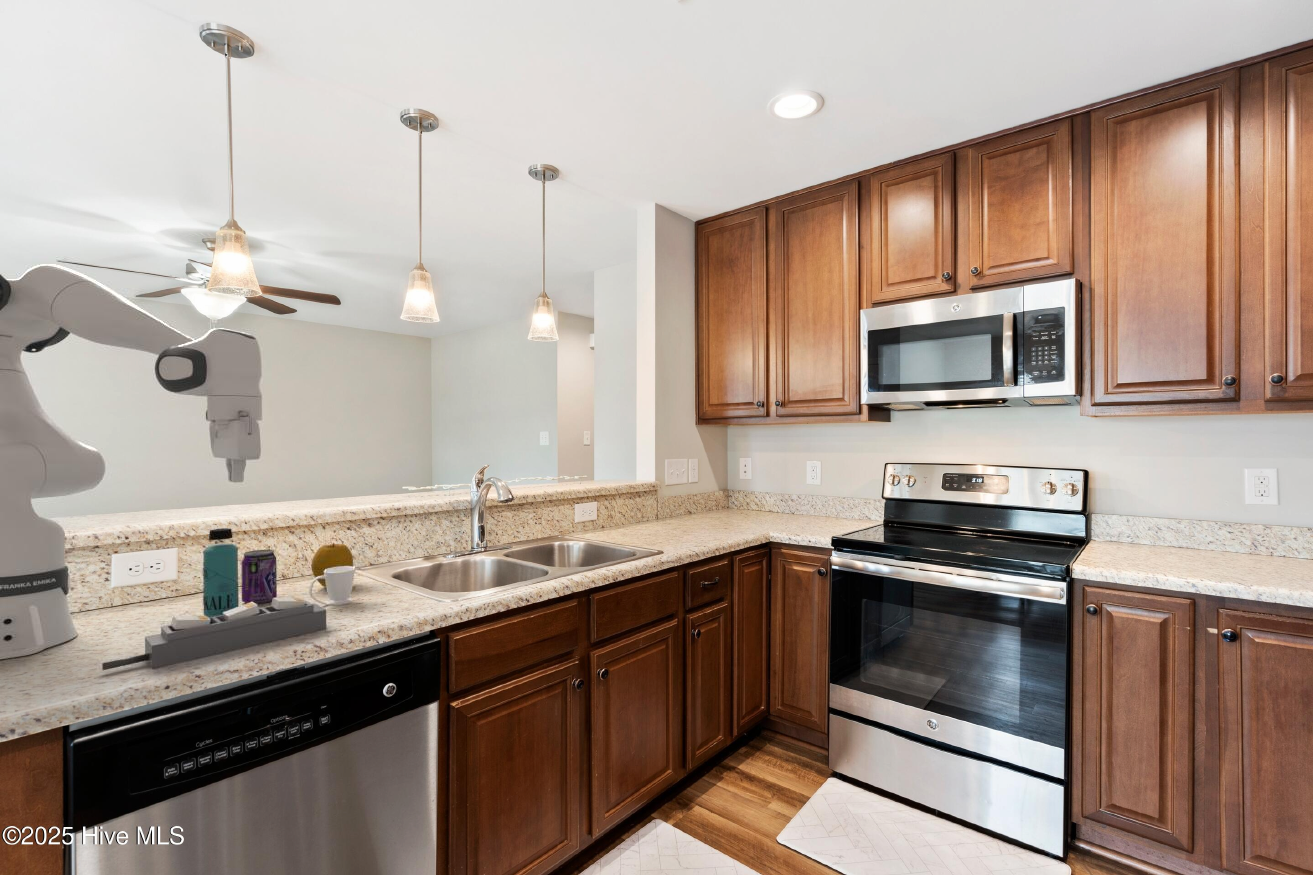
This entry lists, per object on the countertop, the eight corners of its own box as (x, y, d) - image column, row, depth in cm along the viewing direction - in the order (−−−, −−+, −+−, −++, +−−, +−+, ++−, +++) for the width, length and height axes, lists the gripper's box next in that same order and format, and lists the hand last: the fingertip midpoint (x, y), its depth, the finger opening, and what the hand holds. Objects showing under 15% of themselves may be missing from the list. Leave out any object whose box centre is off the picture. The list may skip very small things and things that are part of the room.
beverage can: (259, 606, 142) (258, 555, 141) (234, 604, 143) (233, 554, 143) (283, 598, 148) (283, 549, 148) (259, 596, 150) (259, 548, 150)
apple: (309, 593, 153) (309, 547, 153) (313, 584, 161) (313, 541, 161) (352, 589, 157) (352, 544, 157) (354, 580, 165) (353, 538, 165)
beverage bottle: (228, 614, 135) (227, 525, 135) (246, 618, 132) (245, 527, 132) (196, 622, 129) (194, 529, 129) (213, 626, 127) (212, 531, 126)
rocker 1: (174, 629, 108) (177, 619, 108) (170, 624, 110) (173, 615, 110) (208, 628, 111) (210, 618, 112) (203, 624, 114) (205, 614, 114)
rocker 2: (229, 623, 114) (227, 615, 114) (224, 620, 116) (222, 611, 116) (259, 612, 117) (257, 604, 117) (254, 609, 120) (252, 601, 120)
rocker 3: (276, 609, 120) (278, 600, 120) (270, 605, 122) (272, 597, 122) (303, 609, 123) (305, 600, 124) (297, 605, 126) (299, 597, 126)
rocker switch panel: (105, 679, 100) (104, 646, 100) (100, 668, 104) (99, 637, 104) (326, 628, 125) (326, 602, 125) (314, 621, 130) (313, 596, 130)
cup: (360, 602, 144) (360, 568, 144) (314, 611, 137) (314, 576, 137) (350, 596, 149) (350, 564, 149) (305, 605, 142) (305, 571, 142)
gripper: (270, 410, 114) (270, 483, 114) (239, 413, 128) (240, 478, 128) (230, 410, 109) (230, 486, 109) (203, 412, 123) (204, 480, 123)
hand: (235, 481), depth 119 cm, fingers closed
